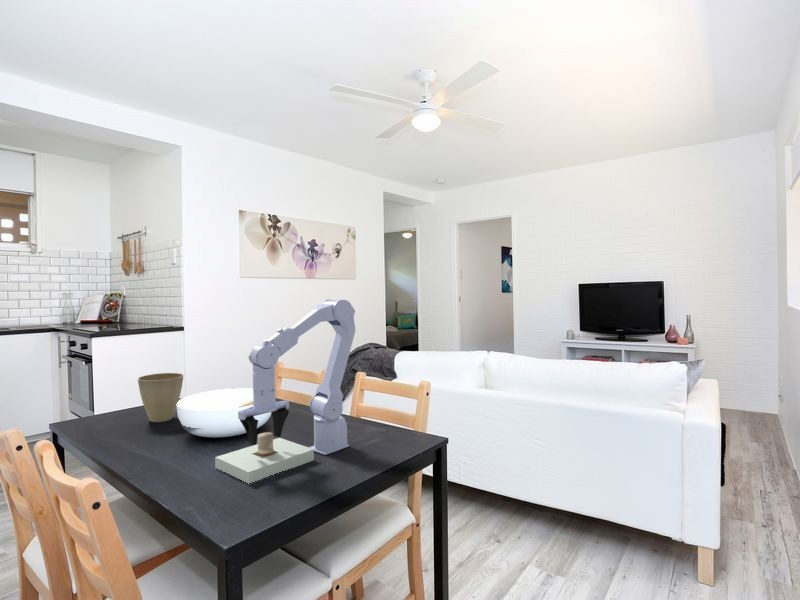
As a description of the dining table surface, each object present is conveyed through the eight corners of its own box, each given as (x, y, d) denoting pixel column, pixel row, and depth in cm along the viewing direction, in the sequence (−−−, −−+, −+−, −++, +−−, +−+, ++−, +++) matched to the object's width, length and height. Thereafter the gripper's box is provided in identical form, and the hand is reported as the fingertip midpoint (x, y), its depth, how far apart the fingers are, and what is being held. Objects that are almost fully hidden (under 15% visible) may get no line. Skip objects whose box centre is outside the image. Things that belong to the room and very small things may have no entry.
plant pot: (144, 428, 156) (143, 382, 156) (134, 419, 167) (133, 376, 167) (190, 419, 166) (189, 376, 166) (177, 411, 177) (176, 371, 177)
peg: (267, 460, 125) (267, 431, 125) (276, 463, 123) (276, 434, 122) (254, 464, 122) (254, 435, 122) (263, 468, 119) (263, 438, 119)
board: (279, 447, 135) (279, 437, 135) (314, 460, 125) (313, 449, 125) (215, 468, 120) (215, 457, 120) (248, 484, 110) (248, 472, 109)
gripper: (248, 397, 114) (249, 450, 114) (295, 387, 125) (296, 436, 125) (233, 393, 118) (234, 445, 119) (280, 383, 129) (281, 431, 130)
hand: (265, 440), depth 122 cm, fingers open, 7 cm apart
